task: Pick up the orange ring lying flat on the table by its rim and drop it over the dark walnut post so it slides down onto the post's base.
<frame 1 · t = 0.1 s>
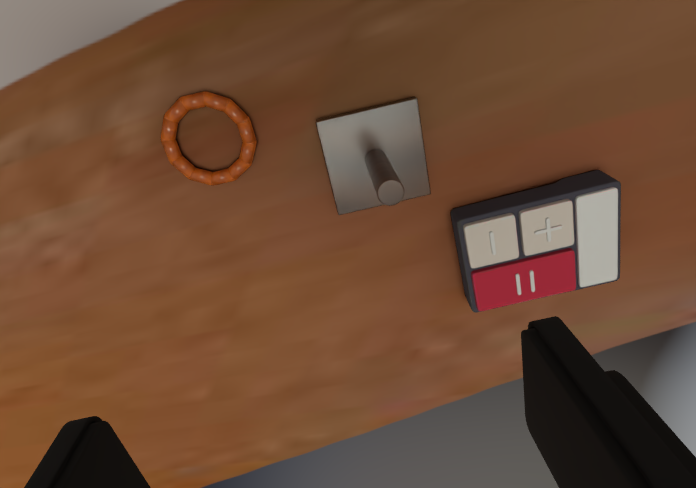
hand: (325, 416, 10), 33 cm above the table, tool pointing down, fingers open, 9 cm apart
calculator: (526, 236, 46), on the table
orange ring: (209, 140, 39), point 1 cm above the table
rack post: (374, 157, 41), on the table
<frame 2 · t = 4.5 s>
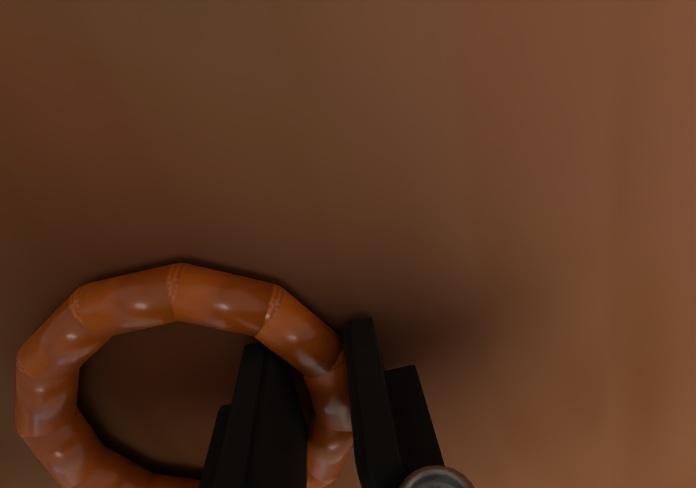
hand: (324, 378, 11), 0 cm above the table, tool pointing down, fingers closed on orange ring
orange ring: (197, 414, 11), point 1 cm above the table, touching gripper
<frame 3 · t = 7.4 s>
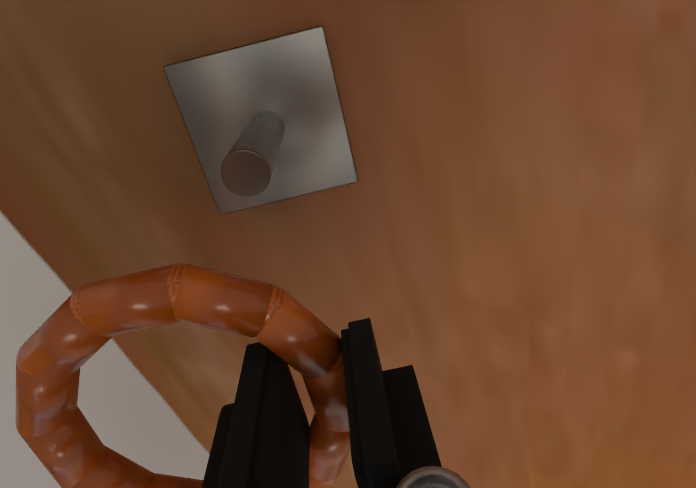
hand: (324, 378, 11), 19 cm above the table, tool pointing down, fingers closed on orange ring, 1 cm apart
orange ring: (197, 414, 11), point 19 cm above the table, touching gripper
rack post: (268, 124, 27), on the table
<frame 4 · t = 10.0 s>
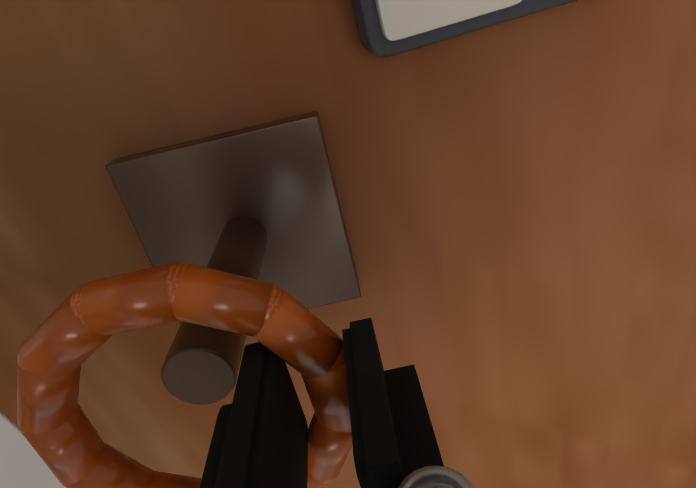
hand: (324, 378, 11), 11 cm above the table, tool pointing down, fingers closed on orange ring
orange ring: (197, 412, 11), point 11 cm above the table, touching gripper
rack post: (247, 228, 21), on the table
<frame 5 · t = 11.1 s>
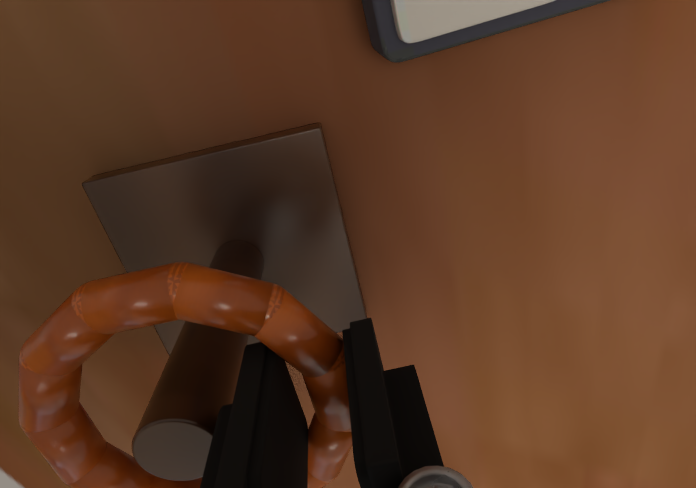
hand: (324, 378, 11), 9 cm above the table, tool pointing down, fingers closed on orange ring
orange ring: (198, 411, 11), point 9 cm above the table, touching gripper
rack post: (242, 251, 19), on the table
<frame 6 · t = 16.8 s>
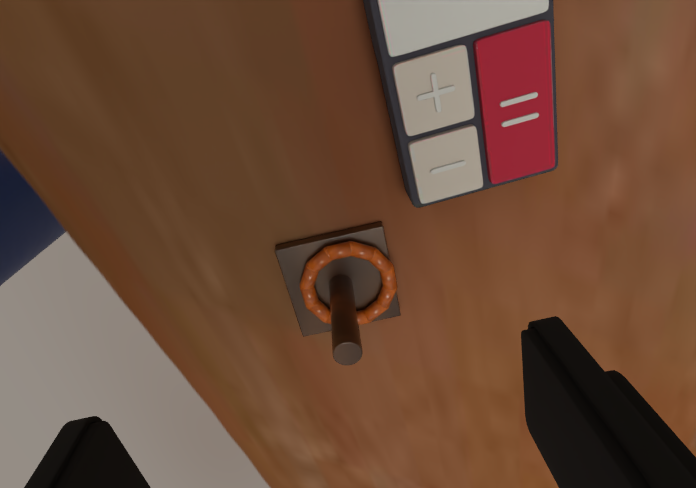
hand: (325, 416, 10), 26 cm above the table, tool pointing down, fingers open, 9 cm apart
calculator: (457, 81, 32), on the table
orange ring: (348, 285, 37), point 2 cm above the table, touching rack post
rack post: (340, 278, 39), on the table
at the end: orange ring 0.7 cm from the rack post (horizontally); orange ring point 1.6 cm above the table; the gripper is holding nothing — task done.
